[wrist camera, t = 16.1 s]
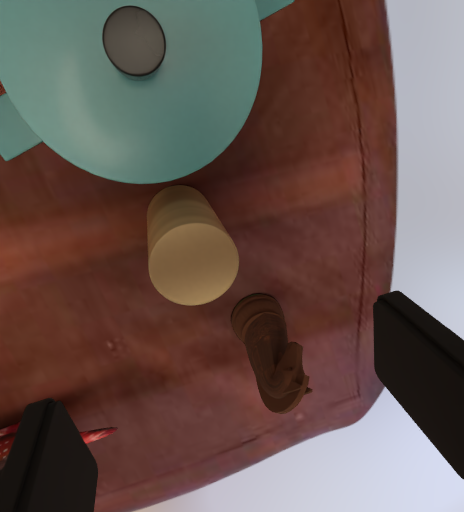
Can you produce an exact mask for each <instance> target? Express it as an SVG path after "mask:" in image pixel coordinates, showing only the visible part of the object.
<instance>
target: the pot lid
mask: <svg viewBox="0 0 464 512" xmlns="http://www.w3.org/2000/svg"><path fill="white" fill-rule="evenodd" d="M261 67H262V36H261V26H260V21H259V16H258V11H257V6H256V3H255V0H0V80H1V82H2V84H3V86H4V88H5V90H6V92H7V94H8V96H9V98H10V100H11V102H12V103H13V105H14V106H15V108H16V109H17V111H18V113H19V114H20V116H21V117H22V118H23V120H24V121H25V122H26V123H27V124H28V126H29V127H30V128H31V129H32V131H33V132H34V133H35V134H36V135H37V136H38V137H39V138H40V139H41V140H42V141H43V142H44V143H45V144H46V145H47V146H49V147H50V148H51V149H52V150H54V151H55V152H56V153H57V154H59V155H60V156H61V157H63V158H64V159H66V160H67V161H69V162H71V163H72V164H74V165H76V166H77V167H79V168H81V169H83V170H86V171H88V172H90V173H92V174H94V175H97V176H100V177H103V178H106V179H109V180H114V181H119V182H124V183H135V184H151V183H161V182H166V181H172V180H175V179H178V178H181V177H184V176H187V175H189V174H191V173H193V172H195V171H197V170H199V169H201V168H202V167H204V166H205V165H207V164H208V163H210V162H211V161H213V160H214V159H215V158H216V157H217V156H219V155H220V154H221V153H222V152H223V151H224V150H225V149H226V148H227V147H228V146H229V144H230V143H231V142H232V141H233V140H234V138H235V137H236V136H237V134H238V133H239V131H240V130H241V128H242V127H243V125H244V123H245V121H246V119H247V117H248V115H249V113H250V111H251V108H252V106H253V103H254V100H255V97H256V94H257V90H258V86H259V82H260V74H261Z"/></svg>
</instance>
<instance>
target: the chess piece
mask: <svg viewBox="0 0 464 512" xmlns="http://www.w3.org/2000/svg"><path fill="white" fill-rule="evenodd" d="M231 323H232V327H233V329H234V331H235V333H236V335H237V336H238V338H239V339H240V340H241V341H242V342H244V344H245V346H246V349H247V353H248V356H249V360H250V363H251V366H252V368H253V371H254V373H255V376H256V381H257V385H258V389H259V393H260V396H261V398H262V400H263V402H264V404H265V405H266V407H267V408H268V409H269V410H271V411H272V412H275V413H279V414H285V413H287V412H289V411H291V410H292V409H294V408H295V407H296V406H297V405H298V403H299V402H300V401H301V399H302V397H303V395H305V394H308V393H311V392H312V389H310V388H308V387H307V385H308V381H309V376H306V375H305V373H304V371H303V366H302V350H303V347H302V346H301V345H299V344H298V343H296V342H290V343H288V338H287V330H286V323H285V320H284V314H283V311H282V309H281V307H280V305H279V304H278V302H277V301H276V300H275V299H274V298H272V297H270V296H268V295H263V294H256V295H251V296H249V297H247V298H245V299H243V300H242V301H241V302H239V303H238V305H237V306H236V307H235V309H234V311H233V314H232V318H231Z"/></svg>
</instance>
